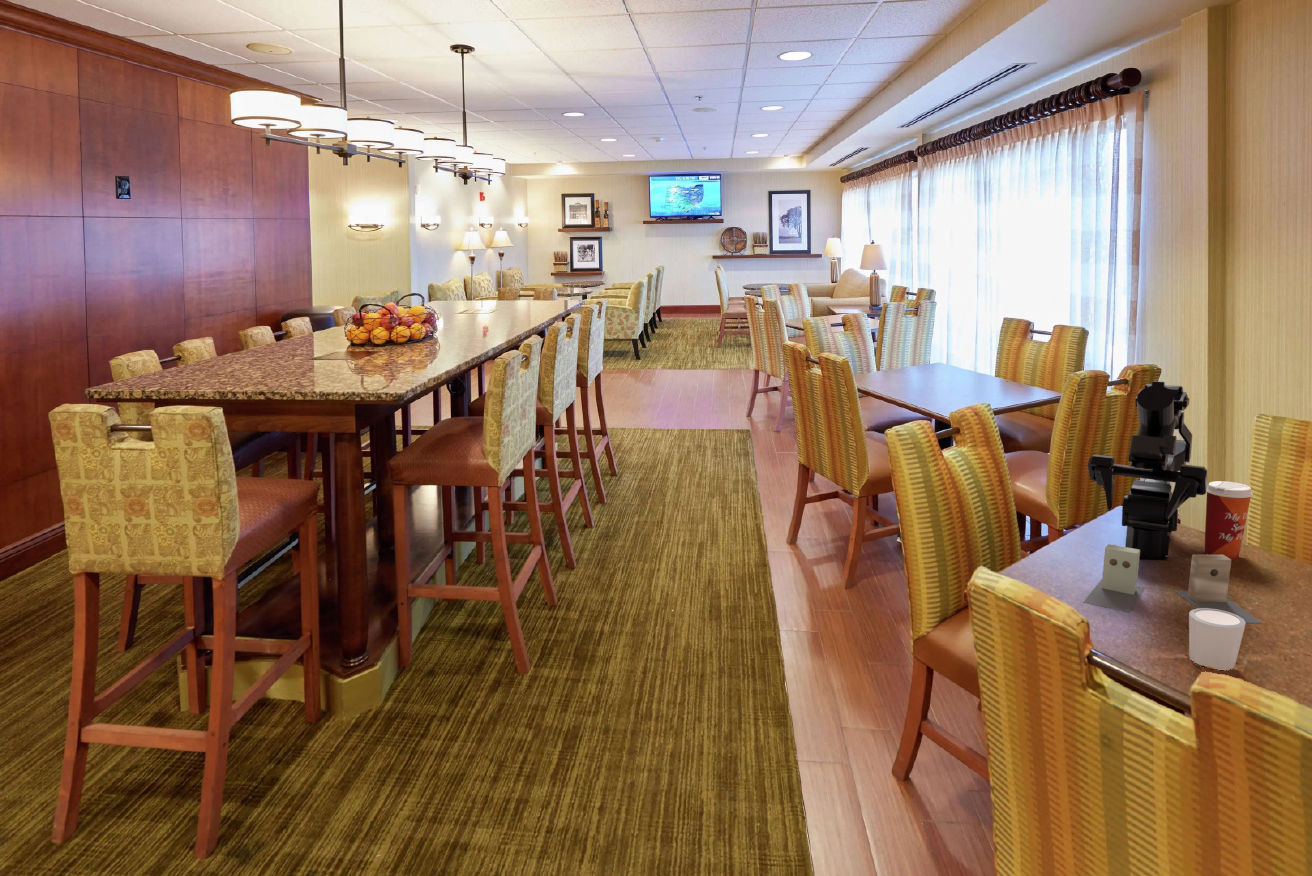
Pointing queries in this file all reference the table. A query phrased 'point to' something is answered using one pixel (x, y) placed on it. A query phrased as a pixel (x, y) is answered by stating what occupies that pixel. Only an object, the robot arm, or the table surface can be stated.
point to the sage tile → (1120, 569)
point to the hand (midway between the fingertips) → (1137, 513)
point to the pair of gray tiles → (1128, 600)
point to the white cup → (1215, 637)
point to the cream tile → (1209, 578)
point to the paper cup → (1226, 517)
